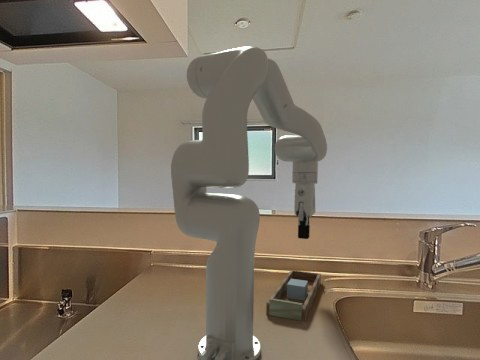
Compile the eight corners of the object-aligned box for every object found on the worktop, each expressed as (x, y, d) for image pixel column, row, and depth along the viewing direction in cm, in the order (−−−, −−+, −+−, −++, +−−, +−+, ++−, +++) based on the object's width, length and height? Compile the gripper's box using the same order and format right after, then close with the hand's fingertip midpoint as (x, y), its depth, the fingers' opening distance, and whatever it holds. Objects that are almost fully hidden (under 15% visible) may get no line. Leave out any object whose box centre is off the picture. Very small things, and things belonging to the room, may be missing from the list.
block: (304, 301, 92) (304, 286, 91) (286, 298, 93) (287, 284, 93) (307, 294, 96) (307, 280, 96) (290, 291, 98) (290, 278, 98)
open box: (304, 321, 79) (304, 305, 79) (266, 314, 83) (266, 298, 83) (320, 283, 105) (320, 270, 105) (290, 278, 108) (291, 267, 108)
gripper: (313, 179, 92) (311, 244, 93) (320, 177, 106) (319, 234, 107) (286, 179, 95) (285, 242, 96) (297, 177, 109) (296, 232, 110)
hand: (303, 237), depth 101 cm, fingers closed
